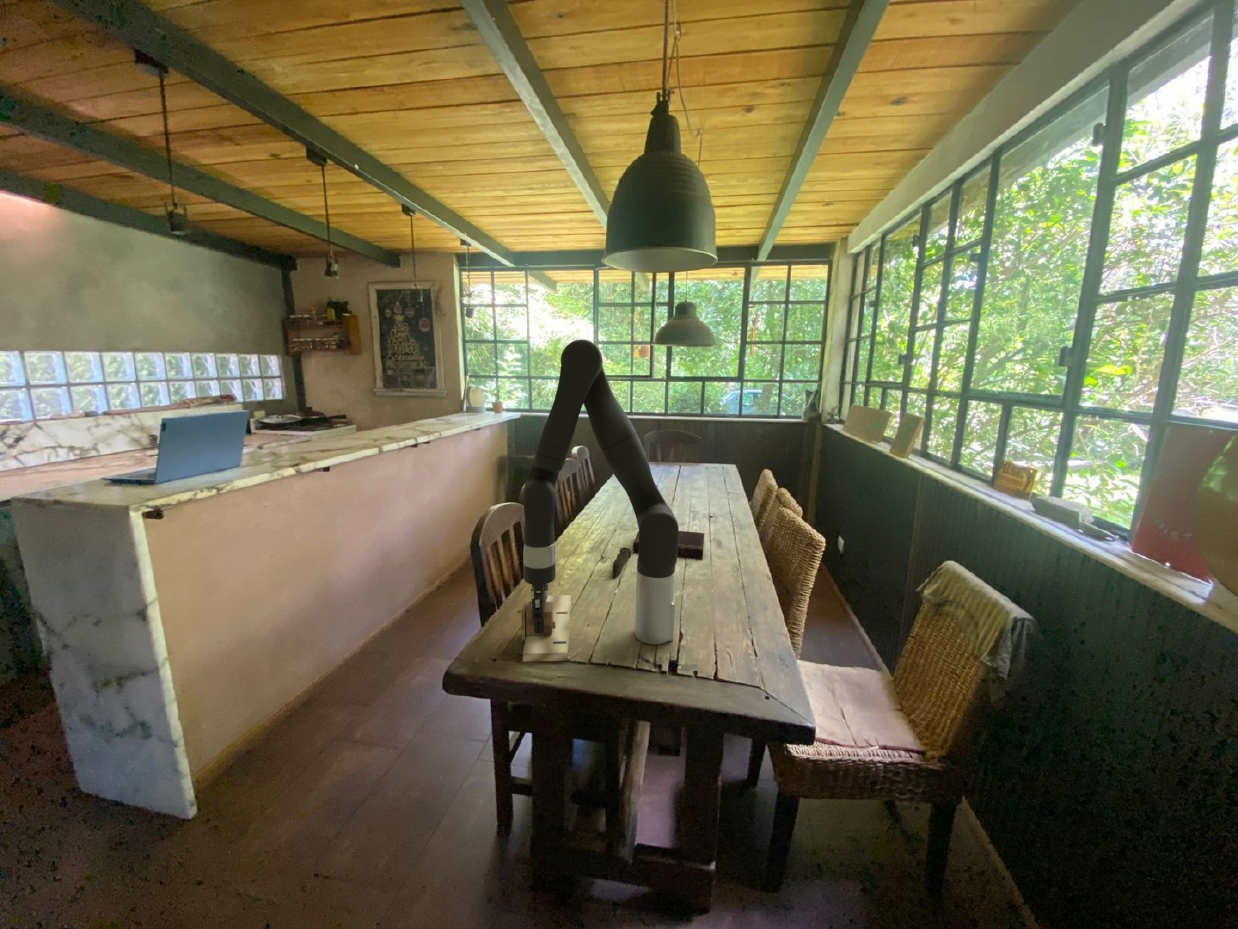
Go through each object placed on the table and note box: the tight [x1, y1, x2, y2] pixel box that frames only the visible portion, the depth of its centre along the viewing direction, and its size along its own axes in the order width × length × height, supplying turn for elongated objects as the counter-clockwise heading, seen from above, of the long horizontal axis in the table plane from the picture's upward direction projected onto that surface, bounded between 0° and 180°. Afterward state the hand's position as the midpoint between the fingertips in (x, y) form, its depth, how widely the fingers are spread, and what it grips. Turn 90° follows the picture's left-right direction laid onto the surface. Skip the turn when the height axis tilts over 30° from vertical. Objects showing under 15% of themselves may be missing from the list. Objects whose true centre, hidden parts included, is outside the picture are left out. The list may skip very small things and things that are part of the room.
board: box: [522, 594, 572, 663], centre depth 121 cm, size 10×28×2 cm, turn 4°
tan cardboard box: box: [520, 601, 556, 641], centre depth 116 cm, size 8×5×7 cm, turn 94°
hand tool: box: [612, 547, 632, 579], centre depth 160 cm, size 19×4×5 cm, turn 166°
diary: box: [632, 530, 705, 560], centre depth 179 cm, size 19×25×5 cm
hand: (540, 626), depth 116 cm, fingers closed on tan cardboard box, 5 cm apart
